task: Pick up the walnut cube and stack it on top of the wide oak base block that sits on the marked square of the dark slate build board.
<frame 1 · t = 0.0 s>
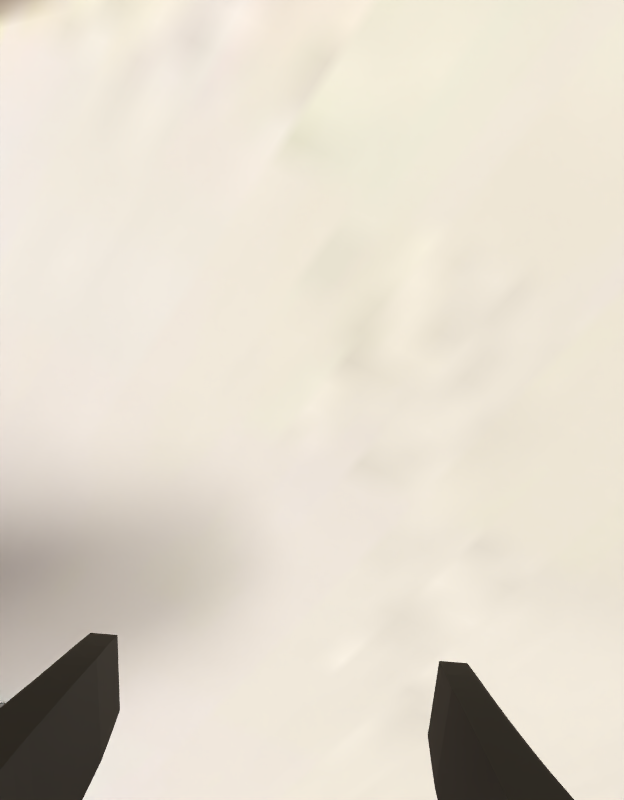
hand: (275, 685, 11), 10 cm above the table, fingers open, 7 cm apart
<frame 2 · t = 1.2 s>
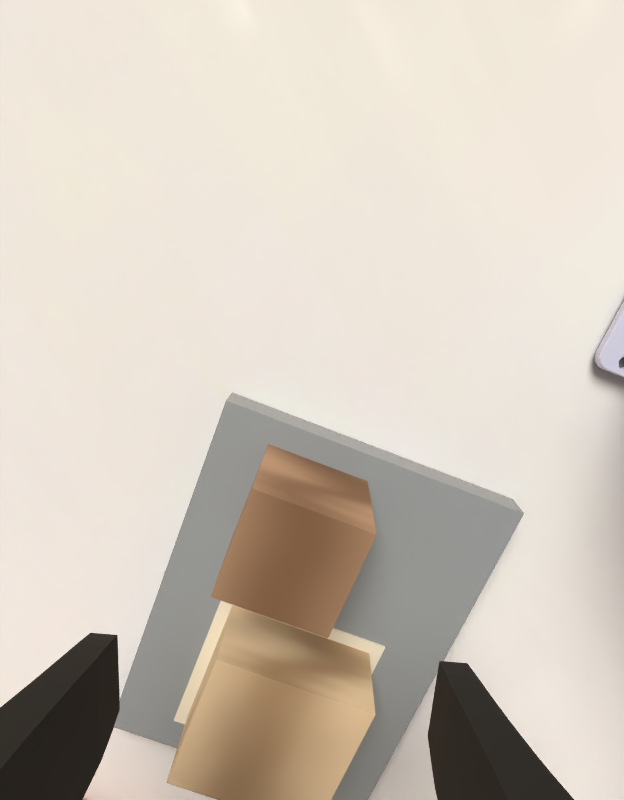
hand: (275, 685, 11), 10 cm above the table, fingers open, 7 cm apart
walnut block: (299, 507, 20), point 1 cm above the table, touching build board
oak base: (276, 685, 22), point 1 cm above the table, touching build board
build board: (302, 608, 22), on the table
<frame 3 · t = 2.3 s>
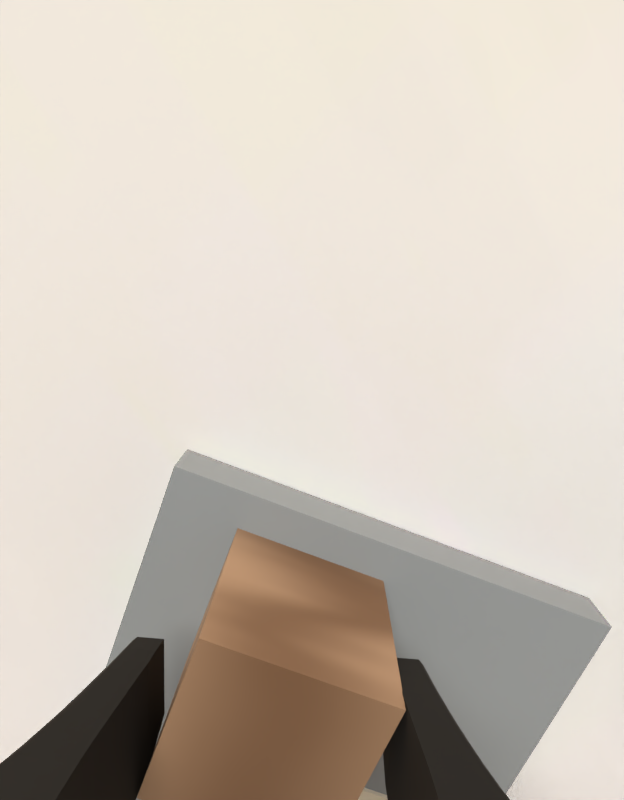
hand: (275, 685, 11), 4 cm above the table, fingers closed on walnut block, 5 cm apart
walnut block: (284, 617, 14), point 1 cm above the table, touching build board, gripper
build board: (291, 740, 16), on the table
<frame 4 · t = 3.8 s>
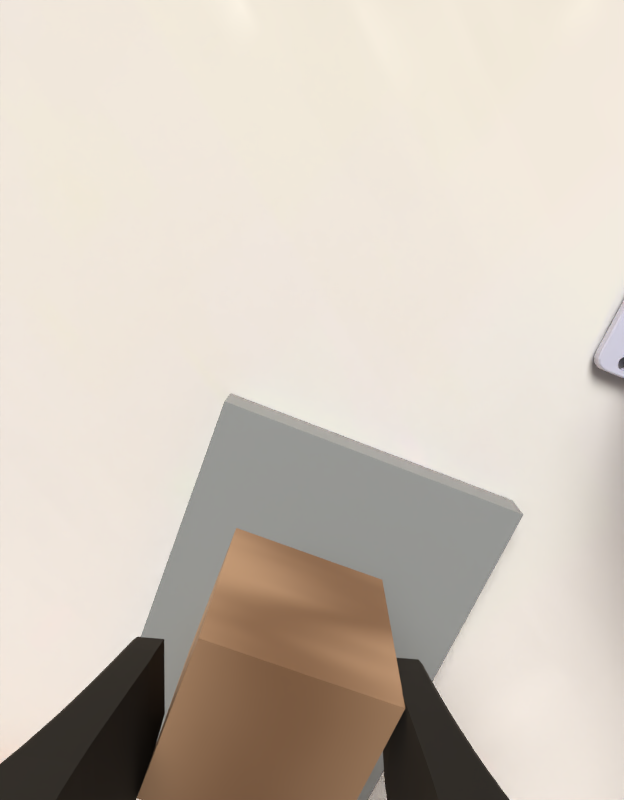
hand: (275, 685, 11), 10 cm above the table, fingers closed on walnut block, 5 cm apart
walnut block: (283, 616, 14), point 7 cm above the table, touching gripper
build board: (301, 610, 22), on the table
when the fingers open (10 cm above the table, at t = 4.2 s): walnut block drops 3 cm, resting on oak base.
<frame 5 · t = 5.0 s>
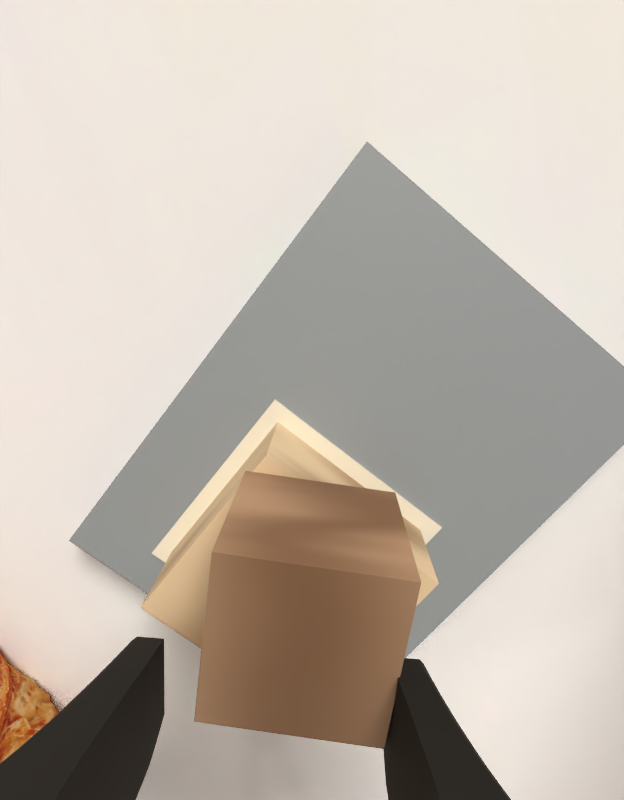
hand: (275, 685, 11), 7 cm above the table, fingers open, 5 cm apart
walnut block: (309, 548, 14), point 4 cm above the table, touching gripper, oak base
oak base: (294, 540, 17), point 1 cm above the table, touching build board, walnut block
build board: (349, 462, 18), on the table
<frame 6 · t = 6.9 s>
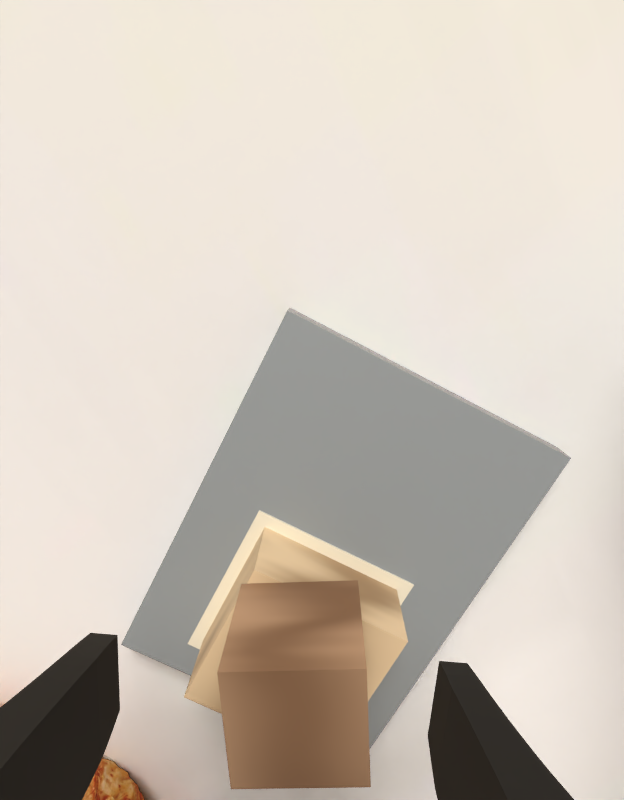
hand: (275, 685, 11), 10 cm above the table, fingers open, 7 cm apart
walnut block: (302, 632, 18), point 4 cm above the table, touching oak base
oak base: (298, 615, 21), point 1 cm above the table, touching build board, walnut block
build board: (331, 542, 22), on the table
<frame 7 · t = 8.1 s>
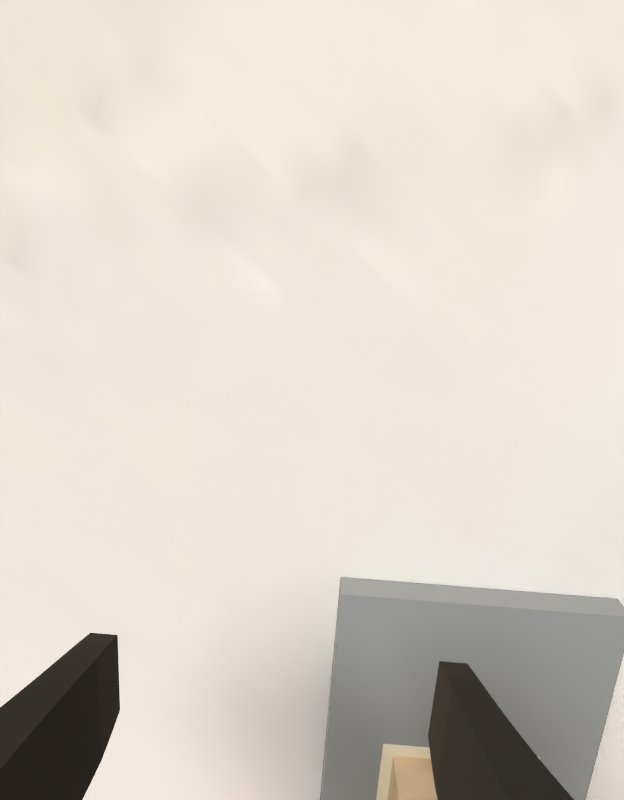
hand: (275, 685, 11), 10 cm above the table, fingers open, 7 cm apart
build board: (453, 735, 24), on the table
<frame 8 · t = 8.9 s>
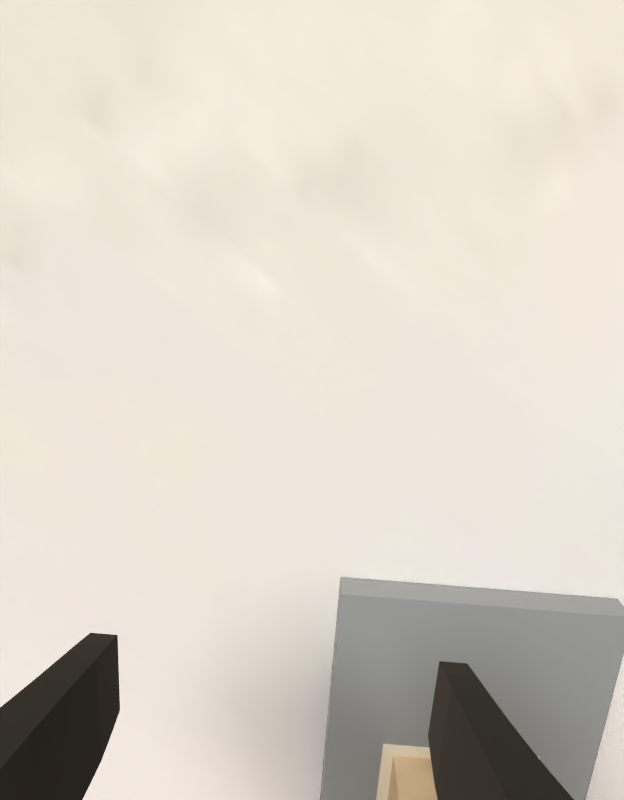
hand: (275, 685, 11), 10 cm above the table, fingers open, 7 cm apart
build board: (453, 735, 24), on the table
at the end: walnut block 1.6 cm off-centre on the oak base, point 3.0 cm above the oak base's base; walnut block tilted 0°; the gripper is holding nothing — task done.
